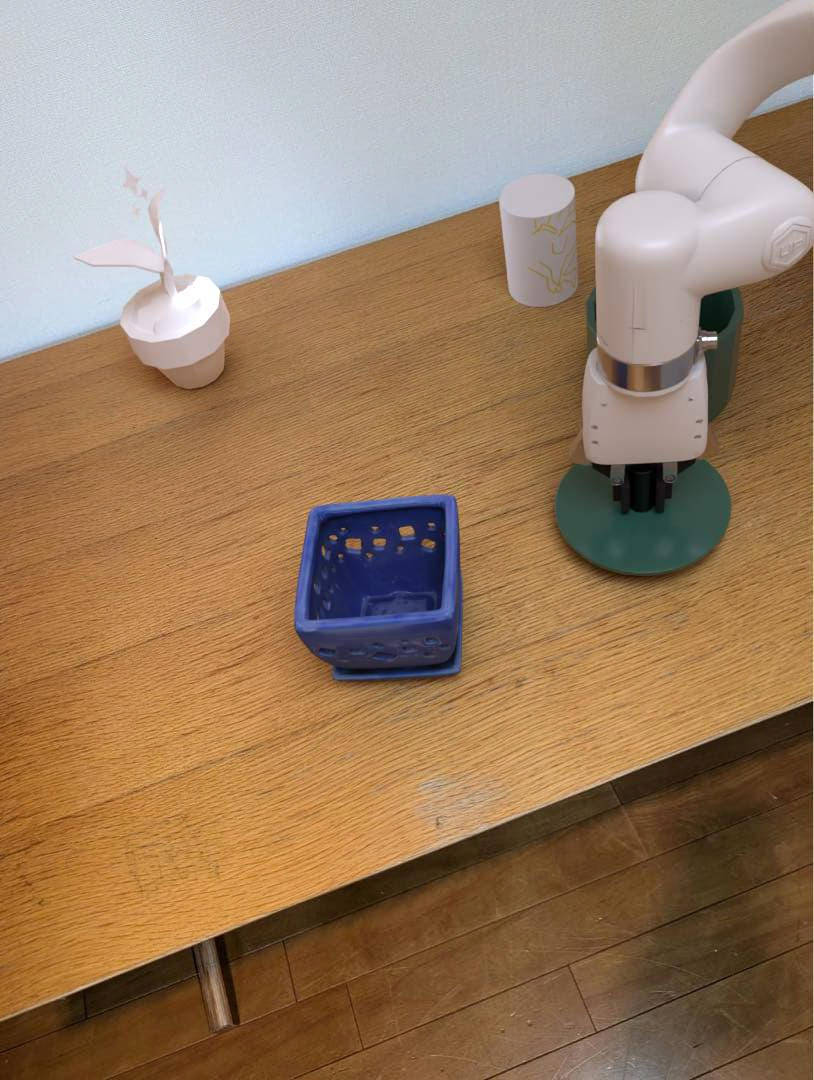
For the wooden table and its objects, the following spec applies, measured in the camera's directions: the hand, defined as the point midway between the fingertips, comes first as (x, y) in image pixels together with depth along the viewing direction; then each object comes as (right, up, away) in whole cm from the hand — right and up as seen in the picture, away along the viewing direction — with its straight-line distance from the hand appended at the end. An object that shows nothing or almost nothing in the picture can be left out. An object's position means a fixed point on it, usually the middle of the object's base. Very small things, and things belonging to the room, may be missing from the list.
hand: (641, 500), depth 91 cm
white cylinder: (-5, +26, +26) cm, 37 cm away
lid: (0, 0, +1) cm, 1 cm away
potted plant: (-47, +16, +27) cm, 56 cm away
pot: (+5, +13, +13) cm, 19 cm away
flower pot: (-22, -12, -1) cm, 25 cm away
